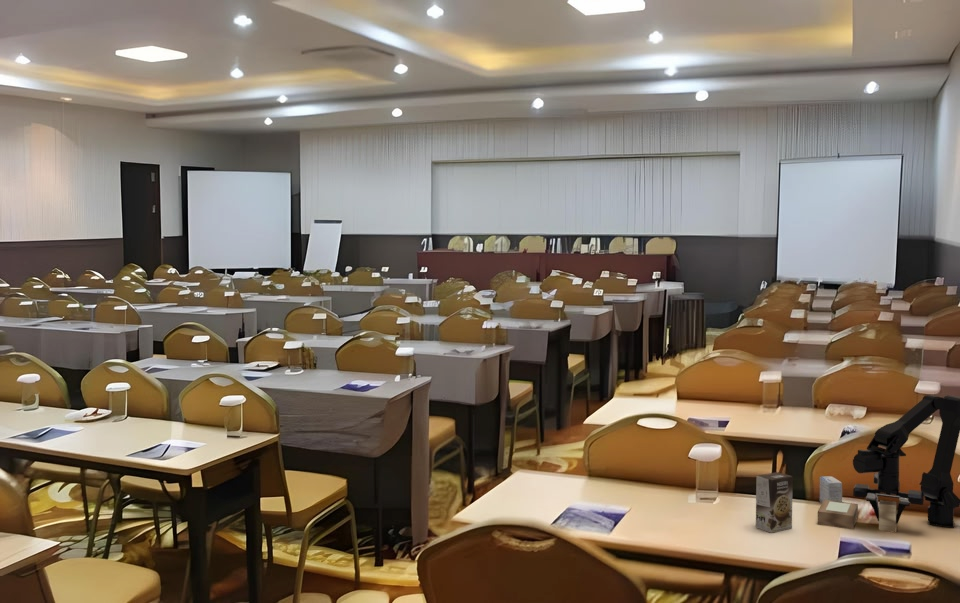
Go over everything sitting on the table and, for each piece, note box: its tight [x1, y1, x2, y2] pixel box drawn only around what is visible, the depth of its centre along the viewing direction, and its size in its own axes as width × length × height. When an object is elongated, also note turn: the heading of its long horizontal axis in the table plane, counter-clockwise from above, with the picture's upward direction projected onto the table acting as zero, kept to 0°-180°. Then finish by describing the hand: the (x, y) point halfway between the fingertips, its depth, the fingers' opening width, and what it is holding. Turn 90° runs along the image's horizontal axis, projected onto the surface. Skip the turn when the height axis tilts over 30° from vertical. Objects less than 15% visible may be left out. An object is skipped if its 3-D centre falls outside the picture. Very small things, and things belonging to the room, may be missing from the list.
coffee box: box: [755, 471, 794, 534], centre depth 247 cm, size 9×6×16 cm
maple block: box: [878, 499, 898, 533], centre depth 245 cm, size 4×4×8 cm
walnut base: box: [817, 500, 859, 530], centre depth 254 cm, size 10×14×4 cm
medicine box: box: [819, 475, 843, 504], centre depth 270 cm, size 8×4×9 cm, turn 179°
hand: (887, 522), depth 245 cm, fingers closed on maple block, 4 cm apart
